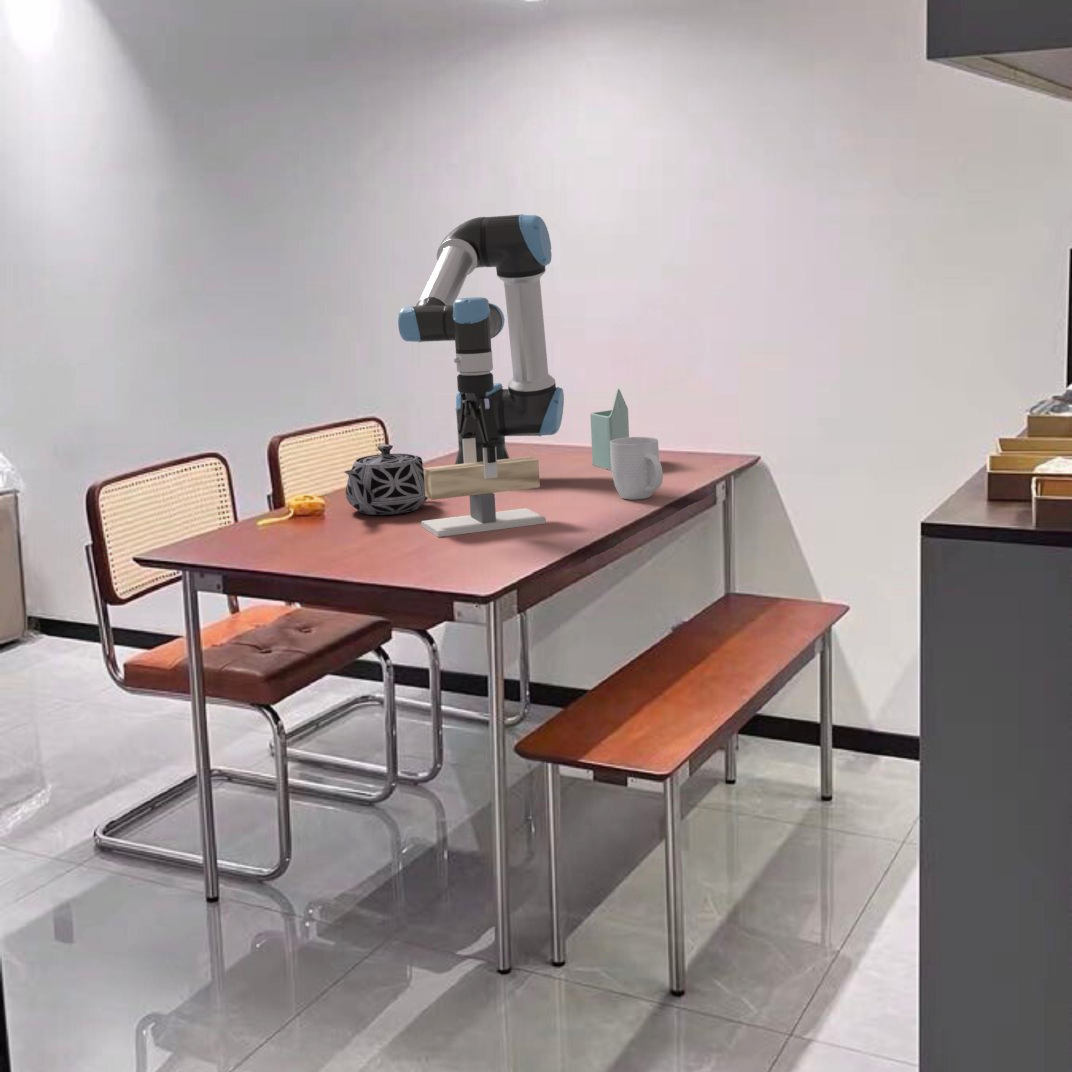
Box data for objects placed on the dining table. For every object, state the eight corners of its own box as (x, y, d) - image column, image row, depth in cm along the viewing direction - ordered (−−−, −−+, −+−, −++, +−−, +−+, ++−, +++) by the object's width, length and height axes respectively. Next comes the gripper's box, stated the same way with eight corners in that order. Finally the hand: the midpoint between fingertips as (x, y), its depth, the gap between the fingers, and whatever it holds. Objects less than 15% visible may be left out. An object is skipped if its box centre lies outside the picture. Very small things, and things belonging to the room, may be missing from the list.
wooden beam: (425, 496, 311) (423, 468, 310) (531, 483, 319) (530, 456, 318) (432, 499, 307) (430, 471, 305) (539, 487, 315) (538, 459, 314)
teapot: (313, 523, 326) (307, 456, 322) (388, 496, 352) (383, 434, 349) (385, 527, 317) (380, 458, 314) (457, 499, 344) (453, 436, 340)
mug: (680, 499, 331) (679, 441, 329) (641, 506, 326) (639, 448, 323) (640, 490, 344) (638, 435, 341) (602, 497, 338) (599, 441, 335)
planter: (601, 459, 388) (598, 384, 384) (630, 459, 385) (627, 384, 381) (583, 470, 373) (580, 393, 368) (613, 471, 370) (611, 392, 366)
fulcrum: (421, 526, 316) (419, 493, 314) (526, 513, 324) (524, 481, 322) (438, 537, 305) (435, 502, 303) (546, 523, 313) (544, 490, 311)
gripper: (440, 369, 318) (446, 466, 322) (476, 379, 295) (482, 484, 299) (473, 366, 320) (478, 462, 325) (512, 376, 297) (517, 480, 302)
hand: (480, 473), depth 312 cm, fingers open, 13 cm apart
